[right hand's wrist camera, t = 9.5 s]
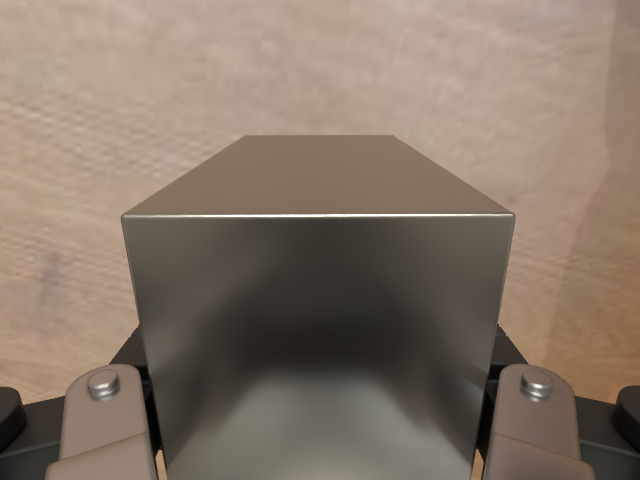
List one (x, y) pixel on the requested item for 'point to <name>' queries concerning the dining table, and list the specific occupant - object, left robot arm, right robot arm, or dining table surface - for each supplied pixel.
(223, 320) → the box
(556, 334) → the dining table surface
